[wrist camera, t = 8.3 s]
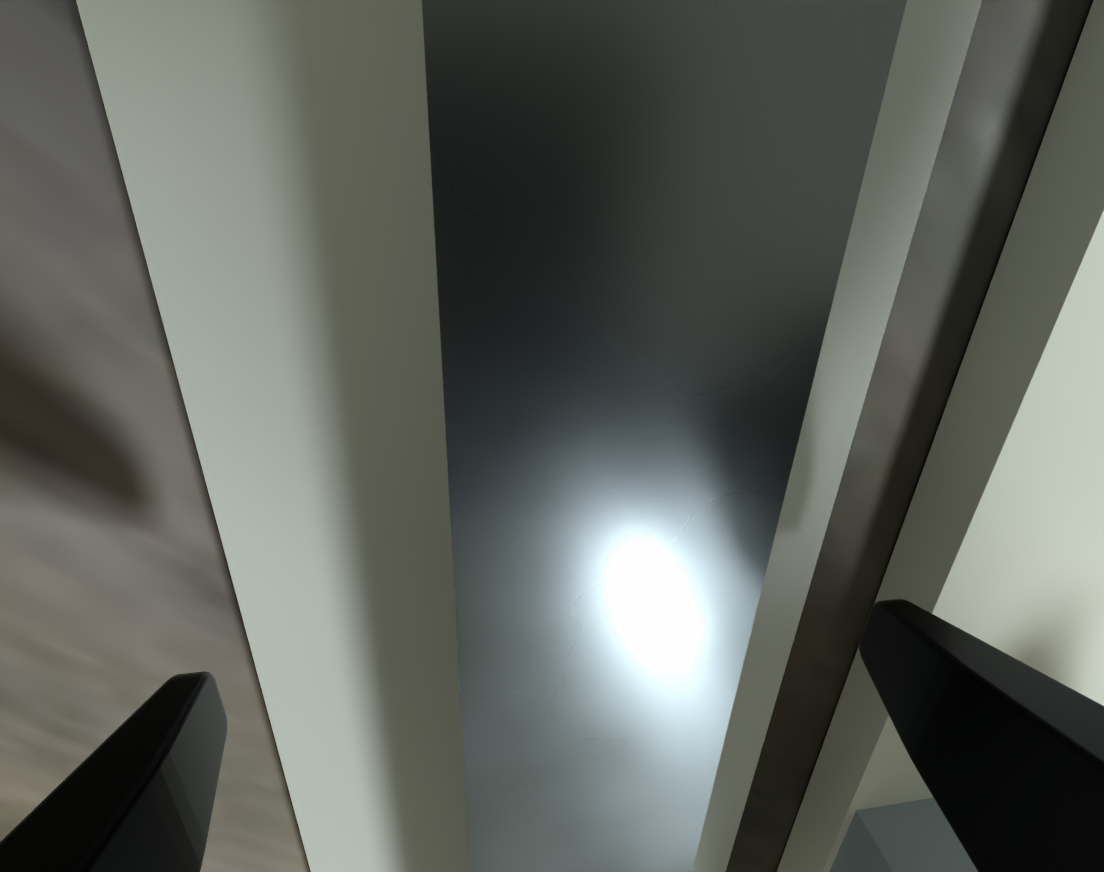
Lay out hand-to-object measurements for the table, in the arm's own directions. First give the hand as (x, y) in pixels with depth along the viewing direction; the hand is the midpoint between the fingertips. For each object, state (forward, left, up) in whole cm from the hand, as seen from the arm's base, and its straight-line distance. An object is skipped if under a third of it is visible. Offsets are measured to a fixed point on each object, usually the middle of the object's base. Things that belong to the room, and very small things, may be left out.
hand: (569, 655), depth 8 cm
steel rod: (0, 0, -1) cm, 1 cm away
